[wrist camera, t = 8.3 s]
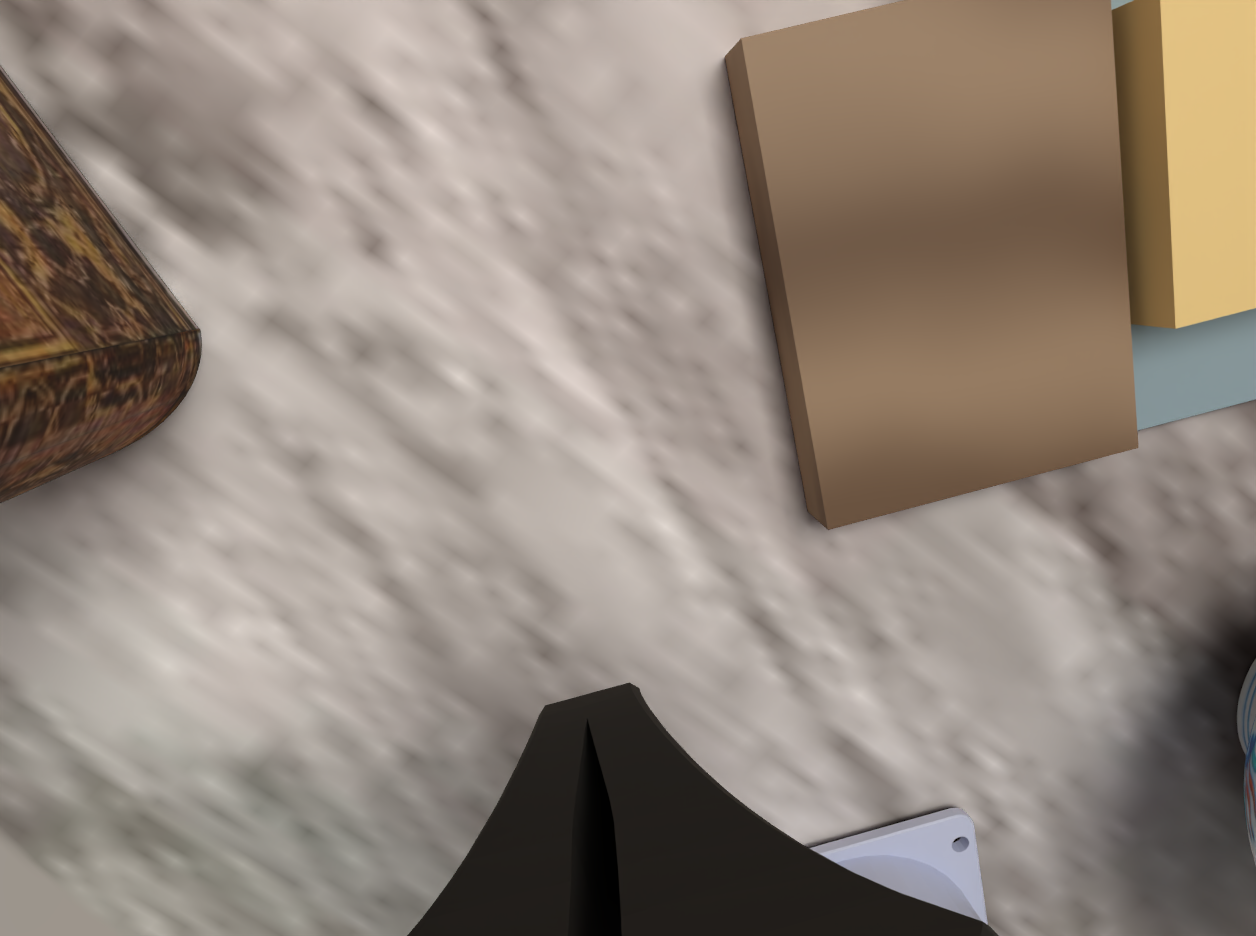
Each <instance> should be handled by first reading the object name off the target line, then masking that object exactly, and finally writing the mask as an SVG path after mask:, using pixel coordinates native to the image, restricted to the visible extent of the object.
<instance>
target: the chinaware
mask: <svg viewBox="0 0 1256 936" xmlns="http://www.w3.org/2000/svg"><path fill="white" fill-rule="evenodd" d="M1237 729H1238V735H1239V739H1240V743H1241V746H1242V748H1243V751H1244V753H1245V755H1246V760H1245V770H1244V805H1245V816H1246V824H1247V831H1248V836H1249V841H1250V846H1251V850H1252V854H1253V858H1254V862H1255V865H1256V659H1255V660H1254V662H1253V664H1252V665H1251V667H1250V669H1249V671H1248V673H1247V676H1246V678H1245V681H1244V683H1243V686H1242V689H1241V693H1240V697H1239V702H1238V709H1237Z"/></svg>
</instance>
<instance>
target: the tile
mask: <svg viewBox="0 0 1256 936" xmlns="http://www.w3.org/2000/svg"><path fill="white" fill-rule="evenodd" d="M1112 26H1113V42H1114V58H1115V75H1116V91H1117V107H1118V123H1119V140H1120V156H1121V172H1122V189H1123V205H1124V221H1125V237H1126V254H1127V270H1128V286H1129V303H1130V319H1131V324H1134V325H1144V326H1153V327H1163V328H1173V329H1177V328H1181V327H1184V326H1188V325H1192V324H1196V323H1200V322H1204V321H1208V320H1212V319H1215V318H1219V317H1223V316H1227V315H1231V314H1235V313H1239V312H1242V311H1246V310H1250V309H1254V308H1256V0H1133V1H1131V2H1129V3H1127V4H1124V5H1122V6H1120V7H1118V8H1115V9H1113V10H1112Z"/></svg>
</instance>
